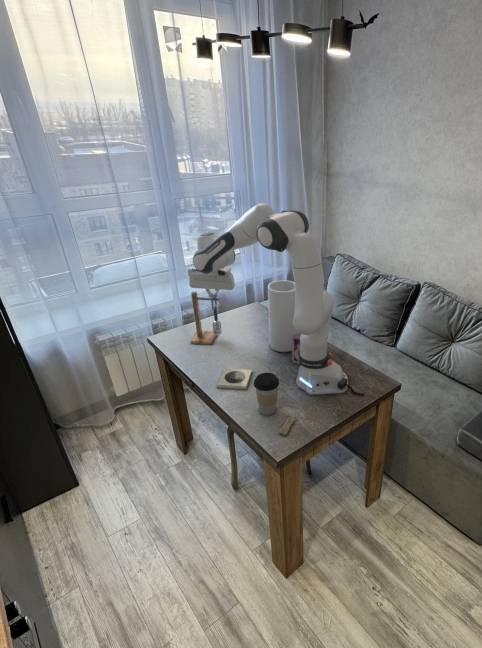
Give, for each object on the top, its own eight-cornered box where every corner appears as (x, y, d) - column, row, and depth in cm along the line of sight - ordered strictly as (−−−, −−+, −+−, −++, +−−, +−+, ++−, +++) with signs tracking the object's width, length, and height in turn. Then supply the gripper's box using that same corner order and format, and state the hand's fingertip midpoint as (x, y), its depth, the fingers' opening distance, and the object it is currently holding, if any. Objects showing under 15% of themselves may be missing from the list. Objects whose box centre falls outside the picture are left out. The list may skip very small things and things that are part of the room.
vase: (263, 347, 193) (260, 287, 177) (281, 335, 203) (280, 277, 187) (287, 356, 187) (286, 295, 170) (304, 343, 197) (305, 284, 181)
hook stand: (227, 334, 201) (222, 289, 189) (221, 345, 193) (216, 298, 180) (197, 333, 202) (191, 287, 189) (191, 343, 193) (183, 296, 180)
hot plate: (251, 372, 174) (251, 369, 174) (246, 389, 164) (245, 386, 163) (224, 370, 175) (224, 367, 174) (217, 387, 164) (216, 384, 163)
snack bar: (286, 434, 142) (278, 430, 142) (284, 437, 143) (277, 433, 143) (296, 417, 149) (289, 413, 150) (295, 420, 150) (288, 416, 151)
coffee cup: (275, 420, 149) (274, 388, 141) (251, 416, 150) (249, 384, 143) (283, 404, 157) (282, 373, 149) (260, 400, 158) (258, 369, 151)
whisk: (223, 332, 198) (219, 293, 187) (220, 338, 193) (215, 298, 182) (215, 332, 198) (210, 292, 187) (212, 337, 193) (207, 297, 182)
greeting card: (291, 363, 182) (291, 335, 174) (298, 355, 188) (298, 327, 180) (313, 369, 178) (314, 341, 170) (320, 361, 184) (321, 333, 176)
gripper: (184, 270, 176) (189, 298, 183) (230, 272, 175) (233, 301, 182) (189, 265, 181) (193, 292, 188) (234, 267, 181) (236, 295, 188)
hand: (213, 296), depth 185 cm, fingers closed on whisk
